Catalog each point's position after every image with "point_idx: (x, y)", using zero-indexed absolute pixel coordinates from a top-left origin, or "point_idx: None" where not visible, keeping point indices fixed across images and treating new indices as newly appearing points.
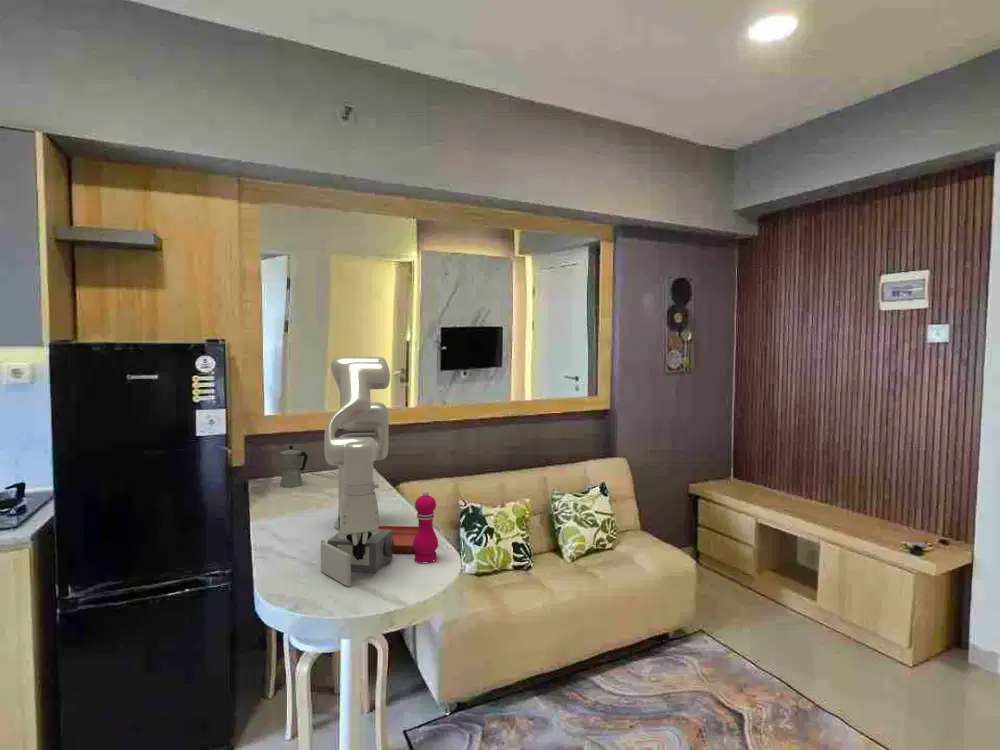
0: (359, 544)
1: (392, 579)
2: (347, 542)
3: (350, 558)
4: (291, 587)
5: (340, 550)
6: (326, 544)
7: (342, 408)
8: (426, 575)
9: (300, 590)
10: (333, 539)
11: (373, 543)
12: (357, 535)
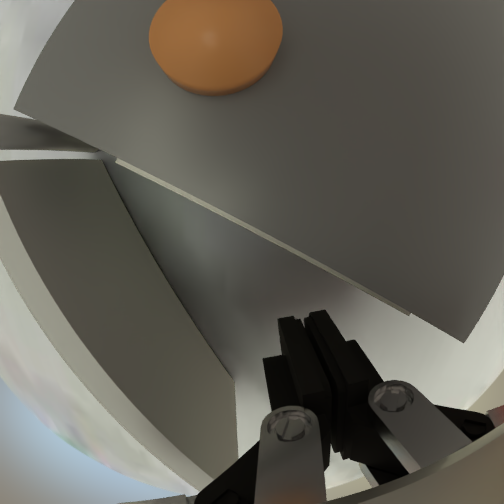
0: (335, 430)
1: (404, 346)
2: (223, 210)
3: None
4: (11, 308)
5: (161, 440)
6: (8, 255)
7: None
8: (490, 328)
9: (46, 347)
10: (64, 80)
11: (453, 334)
12: (359, 16)
